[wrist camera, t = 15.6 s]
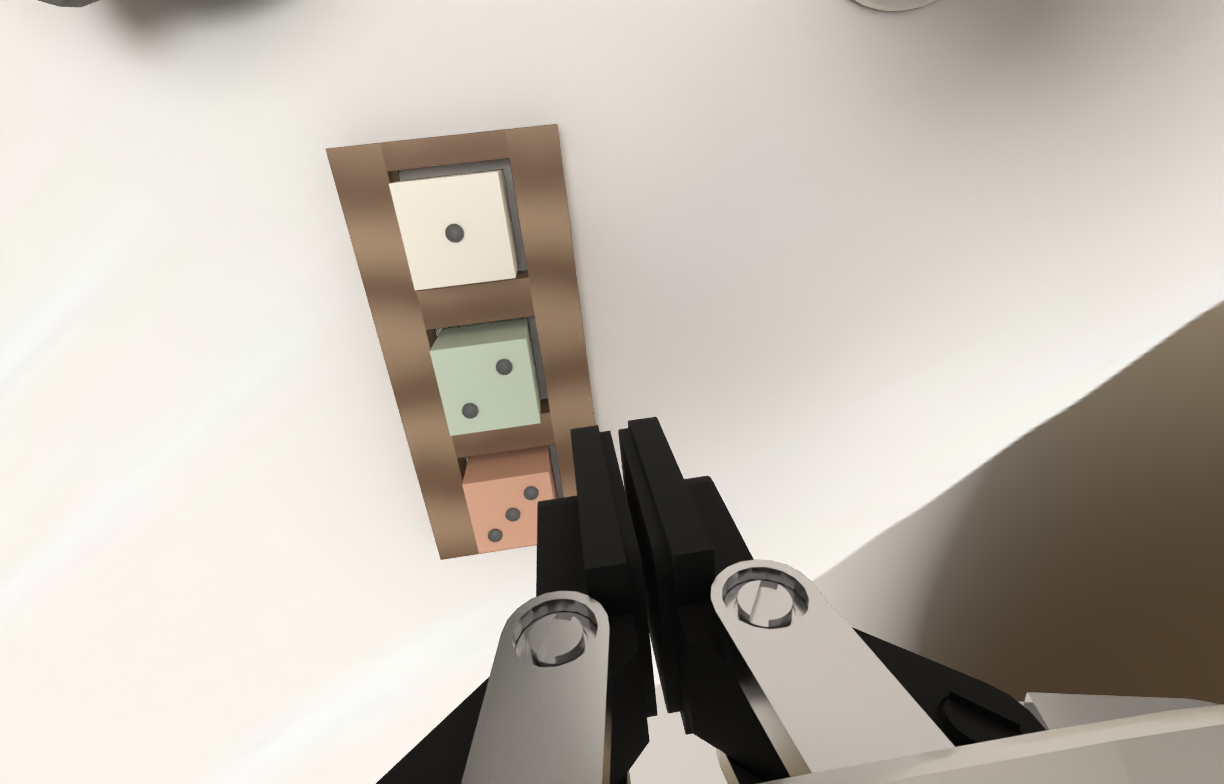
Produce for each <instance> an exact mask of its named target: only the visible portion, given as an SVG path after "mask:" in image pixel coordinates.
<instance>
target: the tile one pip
mask: <svg viewBox="0 0 1224 784" xmlns="http://www.w3.org/2000/svg"><path fill="white" fill-rule="evenodd" d="M389 187H390V191H391V195H392V199H393V203H394V207H395V211H396V216H397V220H398V224H399V228H400V232H401V236H402V240H403V244H404V248H405V252H406V256H407V261H408V265H409V269H410V273H411V277H412V281H413V285H414V289H415V290H423V289H431V288H439V287H447V286H455V285H463V284H471V283H480V282H488V281H496V280H504V279H512V278H516V274H517V269H518V264H519V263H518V257H517V251H516V245H515V239H514V233H513V227H512V221H511V215H510V209H509V203H508V197H507V191H506V185H505V179H504V173H503V169H500V170H491V171H482V172H473V173H464V174H455V175H446V176H437V177H428V178H419V179H410V180H404V181H399V182H394V183H390V184H389Z"/></svg>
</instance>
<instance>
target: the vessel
mask: <svg viewBox="0 0 1224 784" xmlns="http://www.w3.org/2000/svg"><path fill="white" fill-rule="evenodd" d="M39 1H42V2H46V3H49V4H53V5H56V6H61V7H83V6H85V5H88V4H91V3H93V2H96V1H99V0H39Z"/></svg>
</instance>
